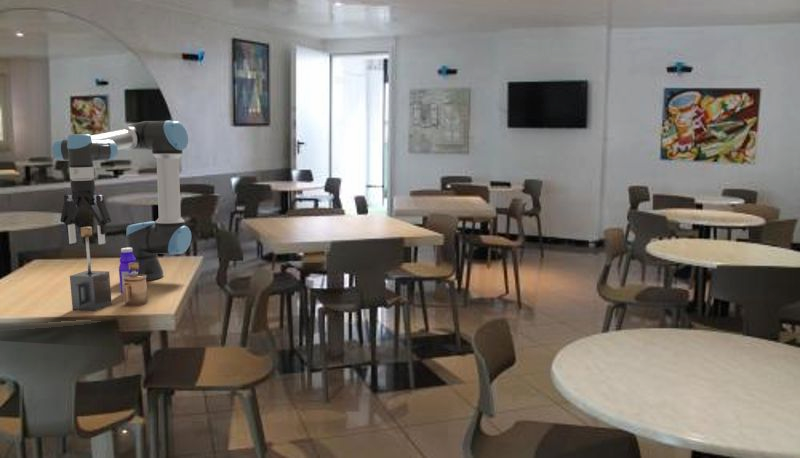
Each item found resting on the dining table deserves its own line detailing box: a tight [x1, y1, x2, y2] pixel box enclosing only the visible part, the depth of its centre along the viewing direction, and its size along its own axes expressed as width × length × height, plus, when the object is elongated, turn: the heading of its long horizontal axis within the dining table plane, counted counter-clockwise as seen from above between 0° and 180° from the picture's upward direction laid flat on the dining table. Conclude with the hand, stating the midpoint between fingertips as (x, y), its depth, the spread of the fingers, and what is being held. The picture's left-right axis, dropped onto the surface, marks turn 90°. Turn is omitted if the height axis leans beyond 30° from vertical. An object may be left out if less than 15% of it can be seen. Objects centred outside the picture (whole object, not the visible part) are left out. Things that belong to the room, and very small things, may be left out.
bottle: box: [118, 247, 138, 295], centre depth 266 cm, size 7×6×17 cm
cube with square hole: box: [69, 270, 113, 312], centre depth 244 cm, size 12×9×12 cm
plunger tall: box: [80, 226, 93, 274], centre depth 244 cm, size 7×7×19 cm
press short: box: [122, 262, 148, 307], centre depth 250 cm, size 11×8×15 cm
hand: (87, 243), depth 244 cm, fingers open, 11 cm apart
